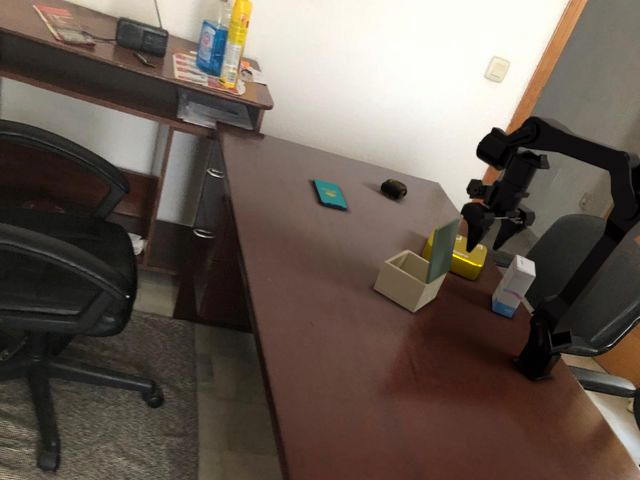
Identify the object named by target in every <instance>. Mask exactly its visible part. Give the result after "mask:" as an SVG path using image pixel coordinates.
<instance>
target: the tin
mask: <svg viewBox="0 0 640 480" xmlns="http://www.w3.org/2000/svg"><path fill="white" fill-rule="evenodd" d="M428 265H429V262H428V261H427V260H425V259H423V258H422V256H420V255H418V254H416V253H414V252H413V251H411V250H410V249H406V250H404V251H402V252H400V253H398V254H395V255H393V256H392V257H390V258H388V259H386V260H384V262H383V264H382V266H381V269H380V271H379V274H378V275H377V279H376V281H375V284H374V285H373V290H375V291H377V292H378V293H380V294H381V295H383V296H385V297H387V298H388V299H390V300H391V301H393V302H395V303H396V304H398V305H399V306H401V307H403V308H405V309H407V310H408V311H410V312H411V313H413V314H414V313H415V312H417V311H418V310H419V309H421V308H422V307H424V306H425V305H427V304H428V303H430V302H432V301H433V300H434V299H435V298H436V296H437V294H438V292H439V290H440V288H441V286H442V284H443V282H444V279H445V277H446V276H447V273H445V274H444V275H442V276H441V277H439V278H438V279H436V280H435V281H433V282H431V283H430V284H425V282H426V276H427V271H428Z"/></svg>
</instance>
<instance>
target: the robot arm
mask: <svg viewBox="0 0 640 480" xmlns="http://www.w3.org/2000/svg"><path fill="white" fill-rule="evenodd" d="M520 148H524V149H527V150H521V149H520ZM532 150H534V151H541V152H551V153H558V154H560V155H562V156H563V155H564V156H567V157H569V158H572V159H575V160H577V161H580V162H581V163H585V164H588V165H591V166H593V167H597V168H599V169H602V170H605V171H607V172H608V174H609V177H610V195H611V198H612V203H613V206H612V208H611V210H610V212H609V214H608V216H607V218H606V222H605V226H604V230H603V233H602V235H601V236H600V237H599V239H598V240H597V241H596V242H595V244H594V245H593V247H592V248H591V250H590V251H589V252H588V253H587V255H586V256H585V258H583V260H582V261H581V263H580V264H579V265H578V267H577V268H576V270H575V271H574V272H573V274H572V275H571V276H570V278H568V280H567V281H566V283H565V284H564V286H563V288H562V289H560V291H559V292H558V294H556V295H550V296H545V297H544V296H543V297H542V298H541V299H540V300H539V303H537V304H538V305H537V306H536V308H535V309H534V310H533V311H531V312H530V315H532V316H531V317H530V319H529V326H530V327H529V328H530V329H529V335H528V340H527V342H526V344H525V345H524V347H523V348H522V350H521V351H520V353H519V354H518V357H517V358H515V359H513V361H512V362H513V364H514V365H516V367H518V369H520V370H521V371H522V372H523V373H524V374H525V375H526V376H527V377H528V378H529V379H530V380H532V381H540V380H546V379H552V378H553V374H552V373H551V372H552V371H553V369H554V368H555V367H556V365H557V363H558V362H559V361H560V359H561V358H562V356H563V354H562V353H561V352H562V351H567V350H569V349H570V348H571V347H574V338H573V333H572V327H573V325H574V323H575V321H576V319H577V318H578V314H579V310H580V306H581V304H582V303H583V301H584V300H585V299H586V297H587V296H588V295H589V294H590V293H591V291H592V290H593V288H594V287H595V286H596V284H597V283H599V280H600V279H601V278H602V277H603V276H604V274H605V273H606V272H607V271H608V269H609V268H610V267H611V265H612V264H613V263H614V261H616V259H617V257H618V256H619V255H620V254H621V253H622V251H623V250H624V248H625V247H626V246H627V245H628V244H630V243H631V242H633V241H634V240H635V239H637V238H638V237H639V236H640V156H639V155H638V153H636V152H635V151H631V150H624V149H621V148H619V147H618V148H617V147H615V146H612V145H609V144H607V143H604V142H601V141H598V140H595V139H592V138H589V137H586V136H583V135H580V134H577V133H575V132H573V131H572V130H571V129H570V128H569V127H568V126H567V125H565V124H564V123H561V122H560V121H559V120H557V119H554V118H551V117H543V116H537V115H530V116H529V117H527V118H526V119H525V120H524V121H523V122H522V123H521V125H520V126H519V127H517V128H516V129H515V130H513V131H512V132H510V133H509V134H508V133H507V132H506V131H504V130H503V129H502V128H501V127H495V126H493V127H492V128H491V130H490V132H488V133H487V134H486V135H485V136H483V138H482V139H481V140H480V141H478V144H477V146H476V149H475V157H476V158H477V159H479V160H480V161H482V162H483V163H485V164H486V165H488V166H489V167H491V168H492V169H494V170H496V171H497V172H502V171H503V170H504V172H503V174H502V176H501V178H500V179H495V180H494V181H493V182H492V183H483V179H478V178H471V179H470V180H469V182H468V184H467V186H466V188H465V190H466V191H465V192H466V194H467V195H468V199H469V200H474V199H475V200H481V201H482V203H481V202H480V201H478V202H477V201H476V202H475V201H469V202H465V203H464V204H463V205H462V207H461V210H460V212H459V214H460V215H461V216H462V218H463V220H464V221H465V222H466V225H467V236H466V238H467V244H466V251H467V252H468V253H471V252H472V251H473V250H474V248H475V247H476V246H477V245H478V244H481V242H482V240H483V239H484V238H485V237H486V236H487V235H488V233H490V231H491V230H492V229H491V228H490V227H492V226H493V224H494V223H495V221H496V220H500V227H499V229H498V232H497V234H496V236H495V239H494V242H493V245H492V251H494V252H497V251H498V250H500V249H501V248H502V247H504V246H505V245H506V244H507V243H508V242H509V241H511V240H512V239H513V238H515V237H516V236H517V235H519V234H520V233H521V232H523V231H524V230H527V229H528V227H532V226H533V224H534V222H535V220H536V219H537V218H536V212H535V211H534V210H532V209H530V208H529V207H528V206H526V205H525V204H523V203H522V201H523V199H529V196H530V195H531V193H530V192H529V191H528V189H529V187H530V186H531V183H532V182H533V179H534V177H535V176H536V174H537V172H538V170H546V171H547V170H550V169H551V166H550V162H549V160H548V155H547V154H542V153H541V154H537V153H535V152H533V151H532ZM487 206H488V207H487Z"/></svg>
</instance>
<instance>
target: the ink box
mask: <svg viewBox="0 0 640 480" xmlns="http://www.w3.org/2000/svg"><path fill="white" fill-rule="evenodd" d="M536 275H537V274H536V265H535V262H534V261H533V260H530V259H528V258H526V257H524V256H523V255H522V256H521V255H519V254H515V256H514V257H513V259H512V261H511V263H510V265H509V266H508V268H507V270H506V272H505V273H504V274H503V277H502V279H501V280H500V282H499V283H498V285H497V287H496V289H495V290H494V292H493V294H492V298H491V299H492V301H491V303H492V304H491V305H492V309H491V311H492V312H493V313H494V312H495V313H497V314H499V315H502V316H504V317H507V318H509V319H511V318H512V316H513V315H514V313H515V312H516V310H517V309H518V307H519V305H520V304H521V302H522V300H523V298H524V296H525V295H526V293H527V291H528V290H529V288H530V287H531V285H532V283H533V282H534V280H535V278H536Z"/></svg>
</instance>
